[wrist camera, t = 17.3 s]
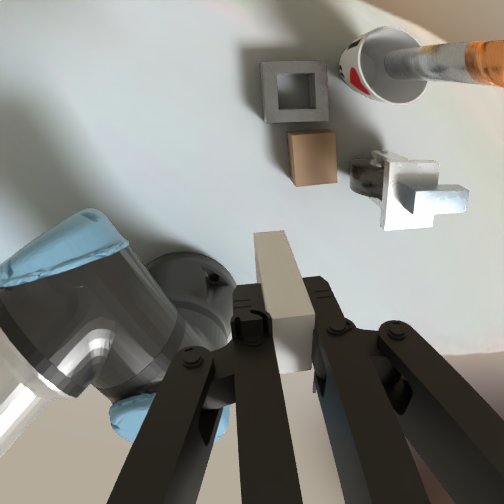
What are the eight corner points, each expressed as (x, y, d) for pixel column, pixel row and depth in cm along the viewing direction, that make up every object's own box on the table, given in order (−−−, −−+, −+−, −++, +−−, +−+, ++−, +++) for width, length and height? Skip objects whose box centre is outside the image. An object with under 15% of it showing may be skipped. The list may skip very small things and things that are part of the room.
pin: (384, 78, 25) (496, 84, 12) (382, 49, 24) (493, 34, 10) (410, 81, 25) (526, 93, 12) (409, 52, 24) (523, 47, 11)
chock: (290, 178, 40) (295, 186, 37) (286, 131, 37) (291, 135, 34) (328, 175, 40) (337, 182, 37) (326, 128, 37) (335, 132, 34)
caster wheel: (340, 195, 41) (383, 239, 29) (341, 142, 38) (390, 167, 26) (406, 192, 41) (462, 232, 29) (409, 143, 38) (471, 169, 26)
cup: (324, 36, 31) (354, 21, 22) (385, 41, 32) (427, 33, 23) (328, 99, 35) (360, 103, 26) (388, 101, 35) (431, 108, 26)
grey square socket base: (263, 121, 36) (266, 123, 33) (259, 64, 33) (262, 61, 30) (321, 118, 36) (328, 121, 34) (319, 63, 33) (326, 61, 30)
